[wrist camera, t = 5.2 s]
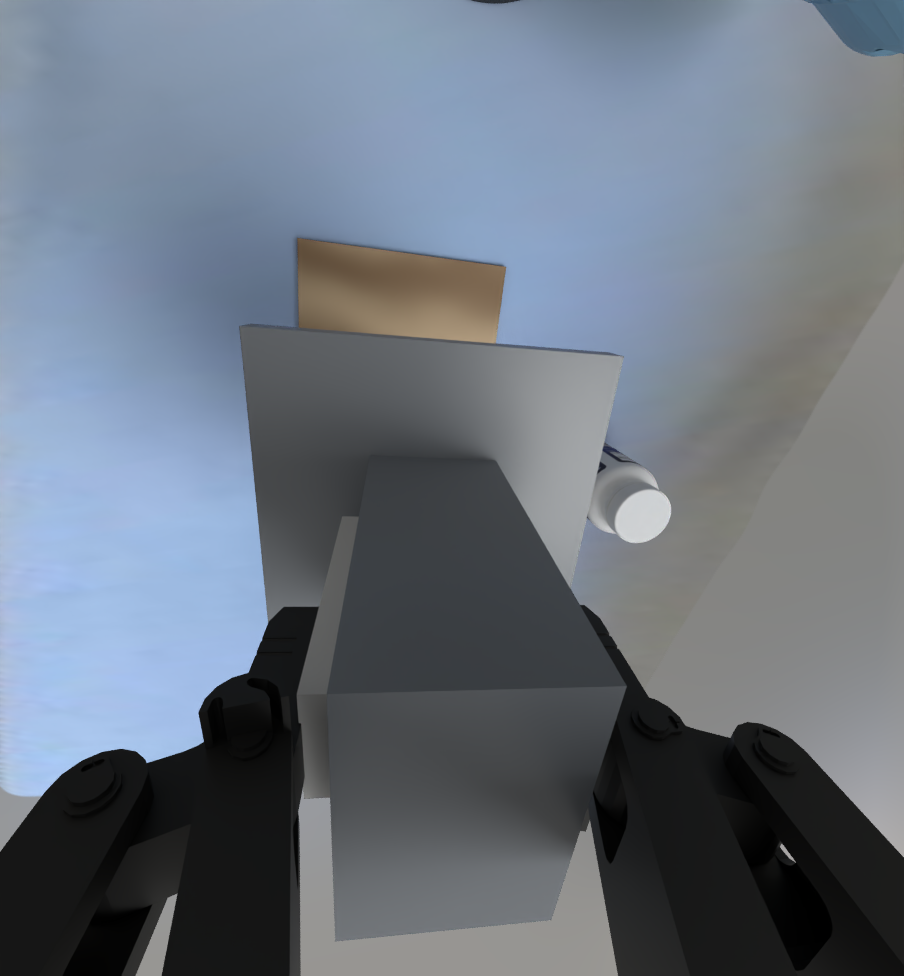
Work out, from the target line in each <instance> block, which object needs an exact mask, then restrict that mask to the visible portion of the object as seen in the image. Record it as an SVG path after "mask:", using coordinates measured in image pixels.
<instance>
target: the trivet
mask: <svg viewBox="0 0 904 976" xmlns="http://www.w3.org/2000/svg"><path fill="white" fill-rule="evenodd" d="M297 241H298V308H299V328H309V329H322V330H334V331H347V332H359V333H371V334H384V335H396V336H409V337H421V338H434V339H446V340H459V341H471V342H484V343H496V336H497V329H498V322H499V314H500V307H501V300H502V293H503V286H504V278H505V271H506V267H503V266H495V265H488V264H481V263H474V262H467V261H459V260H452V259H445V258H438V257H430V256H423V255H416V254H409V253H402V252H394V251H387V250H380V249H373V248H365V247H358V246H351V245H344V244H337V243H329V242H322V241H315V240H308V239H300V238H297Z"/></svg>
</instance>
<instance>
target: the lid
mask: <svg viewBox="0 0 904 976" xmlns="http://www.w3.org/2000/svg"><path fill="white" fill-rule="evenodd" d="M239 328H240V338H241V349H242V359H243V369H244V379H245V390H246V400H247V410H248V420H249V431H250V441H251V451H252V461H253V472H254V482H255V492H256V502H257V513H258V523H259V533H260V543H261V554H262V564H263V574H264V584H265V595H266V605H267V615H268V623H269V621H270V620H271V619H272V618H273V617H274V616H275V615H276V614H277V613H278V612H279V611H280V610H281V609H282V608H283V607H319V605H320V601H321V597H322V593H323V589H324V586H325V582H326V578H327V574H328V570H329V566H330V562H331V558H332V554H333V550H334V546H335V543H336V539H337V535H338V531H339V527H340V523H341V519H342V516H354V517H359V519H358V524H357V530H356V535H355V541H354V546H353V552H352V557H351V563H350V568H349V574H348V579H347V585H346V590H345V596H344V601H343V607H342V612H341V618H340V623H339V629H338V634H337V640H336V645H335V651H334V656H333V662H332V667H331V673H330V678H329V684H328V689H327V719H328V748H329V776H330V803H331V830H332V831H331V832H332V860H333V887H334V916H335V941H344V940H354V939H363V938H375V937H384V936H394V935H404V934H415V933H424V932H434V931H445V930H455V929H465V928H475V927H485V926H495V925H506V924H515V923H526V922H536V921H546V920H551V919H552V916H553V913H554V910H555V906H556V904H557V900H558V897H559V894H560V891H561V888H562V885H563V882H564V879H565V876H566V873H567V869H568V867H569V863H570V860H571V857H572V854H573V851H574V848H575V845H576V842H577V838H578V835H579V833H580V829H581V826H582V823H583V820H584V817H585V814H586V811H587V808H588V805H589V802H590V799H591V795H592V792H593V789H594V786H595V783H596V780H597V777H598V774H599V771H600V768H601V765H602V761H603V758H604V755H605V752H606V749H607V746H608V743H609V740H610V737H611V734H612V731H613V727H614V724H615V721H616V718H617V715H618V712H619V709H620V706H621V703H622V700H623V697H624V693H625V690H626V687H627V686H626V684H625V682H624V680H623V679H622V677H621V675H620V674H619V672H618V670H617V668H616V667H615V665H614V663H613V661H612V660H611V658H610V656H609V655H608V653H607V651H606V649H605V648H604V646H603V644H602V642H601V641H600V639H599V637H598V636H597V634H596V632H595V630H594V629H593V627H592V625H591V624H590V622H589V620H588V618H587V617H586V615H585V613H584V611H583V610H582V608H581V606H580V605H579V603H578V601H577V599H576V598H575V596H574V594H573V592H572V591H571V585H572V580H573V576H574V572H575V567H576V563H577V558H578V554H579V550H580V545H581V541H582V537H583V532H584V528H585V524H586V519H587V515H588V511H589V506H590V502H591V498H592V493H593V489H594V484H595V480H596V476H597V471H598V467H599V463H600V458H601V454H602V450H603V445H604V441H605V437H606V432H607V428H608V423H609V419H610V415H611V410H612V406H613V402H614V397H615V393H616V389H617V384H618V380H619V376H620V371H621V367H622V362H623V358H624V356H620V355H616V354H613V353H608V352H596V351H583V350H571V349H559V348H546V347H534V346H521V345H509V344H496V343H484V342H471V341H459V340H446V339H434V338H421V337H409V336H396V335H384V334H371V333H359V332H347V331H334V330H322V329H309V328H297V327H284V326H272V325H259V324H247V325H242V326H239Z"/></svg>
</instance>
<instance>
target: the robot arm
mask: <svg viewBox="0 0 904 976" xmlns="http://www.w3.org/2000/svg"><path fill="white" fill-rule="evenodd" d="M473 1H478V2H483V3H508V2H514V1H519V0H473ZM804 1H806V2H808V3H812V4H813V5H814V6H815V7H816V8H817V10H818V11H819V12H820V14H821V15H822V16H823V17H824V19H825V20H826V21H827V23H828V24H829V25H830V26H831V28H832V29H833V30H834V32H835V33H836V34H837V35H838V37H839V38H840V39H841V40H842V41H843V43H844V44H846V45H847V46H848V47H849V48H851V49H852V50H854V51H856V52H858V53H861V54H864V55H868V56H889V55H895V54H898V53H902V54H904V0H804ZM358 519H359V517H354V516H342V519H341V523H340V527H339V531H338V535H337V539H336V543H335V546H334V550H333V554H332V558H331V562H330V566H329V570H328V574H327V578H326V582H325V586H324V589H323V593H322V597H321V601H320V605H319V607H283V608H282V609H281V610H280V611H279V612H278V613H277V614H276V615H275V616H274V617H273V618H272V619H271V620H270V621H269V623H268V625H267V628H266V630H265V633H264V635H263V638H262V641H261V643H260V645H259V648H258V650H257V655H256V656H255V658H254V661H253V663H252V666H251V668H250V671H249V673H247V674H243V675H240V676H237V677H233V678H231V679H229V680H228V681H226V682H224V683H222V684H221V685H219V686H217V687H216V688H215V689H214V690H213V691H212V692H211V693H210V694H209V695H208V696H207V697H206V698H205V700H204V702H203V704H202V706H201V708H200V710H199V718H200V723H201V728H202V733H203V739H204V742H203V743H201V744H200V745H198V746H196V747H194V748H191V749H189V750H186V751H184V752H181V753H178V754H175V755H172V756H168V757H165V758H162V759H159V760H156V761H153V762H149V763H146V760H145V759H144V758H143V757H142V756H141V755H140V754H138V753H137V752H136V751H130V750H125V749H117V750H111V751H105V752H101V753H99V754H97V755H94V756H92V757H89V758H87V759H85V760H82V761H81V762H79V763H78V764H76V765H75V766H73V767H72V768H71V769H69V770H68V771H66V772H65V773H63V774H62V775H61V776H60V777H59V778H58V779H57V780H56V781H55V782H54V783H53V784H52V785H51V786H50V787H49V788H48V789H47V790H46V792H45V793H44V794H43V795H42V797H41V798H40V799H39V801H38V802H37V804H36V805H35V806H34V807H33V809H32V810H31V811H30V813H29V814H28V815H27V817H26V818H25V820H24V821H23V822H22V823H21V825H20V826H19V828H18V829H17V830H16V831H15V833H14V834H13V836H12V837H11V838H10V840H9V841H8V842H7V843H6V845H5V846H4V848H3V849H2V850H1V852H0V976H135V975H136V973H137V970H138V968H139V965H140V963H141V961H142V958H143V956H144V953H145V951H146V949H147V946H148V944H149V941H150V939H151V937H152V934H153V932H154V929H155V927H156V925H157V922H158V920H159V917H160V915H161V913H162V910H163V908H164V905H165V903H166V900H167V898H168V897H170V896H172V895H175V894H177V893H178V894H177V899H176V905H175V910H174V915H173V920H172V926H171V930H170V935H169V941H168V946H167V951H166V956H165V961H164V967H163V972H162V976H300V855H299V854H300V851H299V850H300V847H299V816H298V809H299V804H300V799H301V794H302V789H303V792H304V799H310V798H327V797H330V776H329V748H328V719H327V689H328V684H329V678H330V673H331V667H332V662H333V656H334V651H335V645H336V640H337V634H338V629H339V623H340V618H341V612H342V607H343V601H344V596H345V590H346V585H347V579H348V574H349V568H350V563H351V557H352V552H353V546H354V541H355V535H356V530H357V524H358ZM580 606H581V608H582V610H583V611H584V613H585V615H586V617H587V618H588V620H589V622H590V624H591V625H592V627H593V629H594V630H595V632H596V634H597V636H598V637H599V639H600V641H601V642H602V644H603V646H604V648H605V649H606V651H607V653H608V655H609V656H610V658H611V660H612V661H613V663H614V665H615V667H616V668H617V670H618V672H619V674H620V675H621V677H622V679H623V680H624V682H625V684H626V686H627V687H626V690H625V693H624V697H623V700H622V703H621V706H620V709H619V712H618V715H617V718H616V721H615V724H614V727H613V731H612V734H611V737H610V740H609V743H608V746H607V749H606V752H605V755H604V758H603V761H602V765H601V768H600V771H599V774H598V777H597V780H596V783H595V786H594V789H593V792H592V795H591V799H590V802H589V805H588V808H587V811H586V814H585V817H584V820H583V823H582V826H581V829H580V831H586V829H587V826H588V823H589V820H590V822H591V827H592V833H593V838H594V844H595V849H596V855H597V861H598V866H599V872H600V877H601V883H602V888H603V894H604V899H605V905H606V911H607V916H608V922H609V927H610V933H611V938H612V944H613V949H614V955H615V961H616V966H617V971H618V976H904V857H903V856H902V855H901V854H900V853H899V852H898V851H897V850H896V849H895V848H894V846H893V845H892V844H891V843H890V842H889V841H888V840H887V839H886V838H885V837H884V836H883V835H882V834H881V832H880V831H879V830H878V829H877V828H876V827H875V826H874V825H873V824H872V823H871V822H870V821H869V819H868V818H867V817H866V816H865V815H864V814H863V813H862V812H861V811H860V810H859V809H858V808H857V806H856V805H855V804H854V803H853V802H852V801H851V800H850V799H849V798H848V797H847V796H846V795H845V793H844V792H843V791H842V790H841V789H840V788H839V787H838V786H837V785H836V784H835V783H834V782H833V780H832V779H831V778H830V777H829V776H828V775H827V774H826V773H825V772H824V771H823V770H822V769H821V768H820V766H819V765H818V764H817V763H816V762H815V761H814V760H813V759H812V758H811V757H810V756H809V755H808V753H807V752H806V751H804V749H802V748H801V747H800V746H799V745H798V744H797V743H796V742H794V741H793V740H792V739H791V738H789V737H788V736H786V735H784V734H783V733H781V732H779V731H778V730H776V729H773V728H771V727H768V726H765V725H763V724H759V723H750V722H747V723H743V724H741V725H738V726H737V727H736V729H735V731H734V732H733V734H732V736H731V738H728V737H724V736H720V735H716V734H712V733H708V732H704V731H700V730H696V729H693V728H690V727H687V726H685V725H684V723H683V722H682V720H681V719H680V717H679V716H678V715H677V714H676V713H674V712H673V711H672V710H671V709H670V708H669V707H668V706H666V705H664V704H662V703H661V702H659V701H657V700H655V699H652V698H649V697H648V695H647V694H646V692H645V691H644V689H643V687H642V686H641V684H640V682H639V681H638V679H637V678H636V676H635V674H634V673H633V671H632V669H631V668H630V666H629V665H628V663H627V661H626V660H625V658H624V656H623V655H622V653H621V652H620V650H619V649H617V645H616V644H615V642H614V640H613V639H612V637H611V636H609V632H608V631H607V629H606V627H605V626H604V624H603V622H602V621H601V619H600V618H599V617H598V616H597V615H595V614H594V613H593V612H592V611H591V610H590V609H588V608H587V607H586V606H585V605H580ZM781 844H783V845H784V846H785V848H786V849H787V851H788V852H789V853H790V855H791V856H792V857H793V858H794V860H795V861H796V863H795V862H794V861H792V860H791V859H789V858H788V856H787V855H786V854H785V853H784V852H783V851H782V849H781V848H780V845H781Z"/></svg>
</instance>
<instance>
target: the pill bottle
mask: <svg viewBox="0 0 904 976" xmlns="http://www.w3.org/2000/svg"><path fill="white" fill-rule="evenodd" d="M670 515H671V505H670V502H669V499H668V498H667V496H666V495H665V494H664V493H662V492H661V491H660V490H658V485H657V482H656V480H655V478H654V477H653V475H652V474H651V473H650V472H649V471H648V470H647V469H645V468H644V467H643V466H641V465H640V464H638V463H636V462H635V461H633V460H632V459H630V458H628V457H627V456H625V455H624V454H622V453H620V452H619V451H617V450H616V449H614V448H612V447H611V446H609V445H607V444H606V443H604V445H603V450H602V454H601V458H600V463H599V467H598V471H597V476H596V480H595V484H594V489H593V493H592V498H591V502H590V506H589V511H588V515H587V518H588V519H589V520H590V521H591V522H592V523H593V524H594V525H595V526H596V527H597V528H599V529H601V530H603V531H605V532H609V533H615V534H617V535H618V536H619V537H621V538H622V539H623V540H625V541H627V542H631V543H642V542H646V541H649V540H651V539H653V538H654V537H656V536H657V535H658V534H660V533H661V532H662V531H663V529H664V528H665V527H666V525H667V523H668V521H669V519H670Z"/></svg>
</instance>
